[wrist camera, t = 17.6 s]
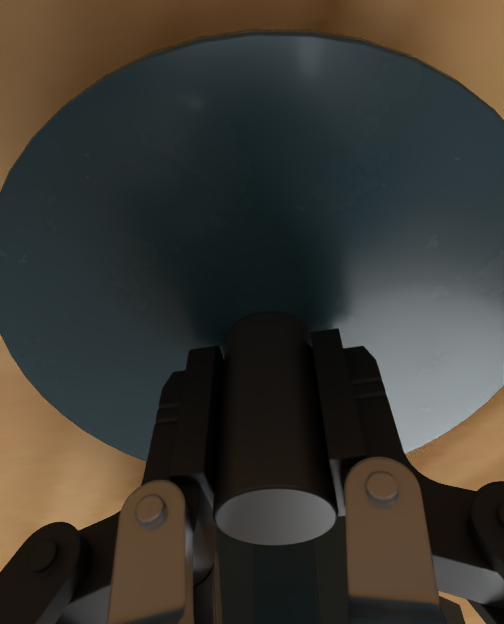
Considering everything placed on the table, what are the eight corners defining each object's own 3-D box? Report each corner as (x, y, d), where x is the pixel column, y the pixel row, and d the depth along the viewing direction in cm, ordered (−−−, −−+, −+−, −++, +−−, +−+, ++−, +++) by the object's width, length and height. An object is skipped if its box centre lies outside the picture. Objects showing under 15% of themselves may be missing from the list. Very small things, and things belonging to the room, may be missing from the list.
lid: (-72, 333, 13) (-242, 532, 9) (242, -226, 6) (209, -685, 2) (276, 495, 19) (283, 661, 15) (630, 303, 12) (846, 506, 8)
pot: (118, 515, 31) (74, 690, 24) (316, 384, 22) (344, 604, 14) (260, 568, 37) (260, 723, 29) (465, 482, 27) (540, 677, 20)
